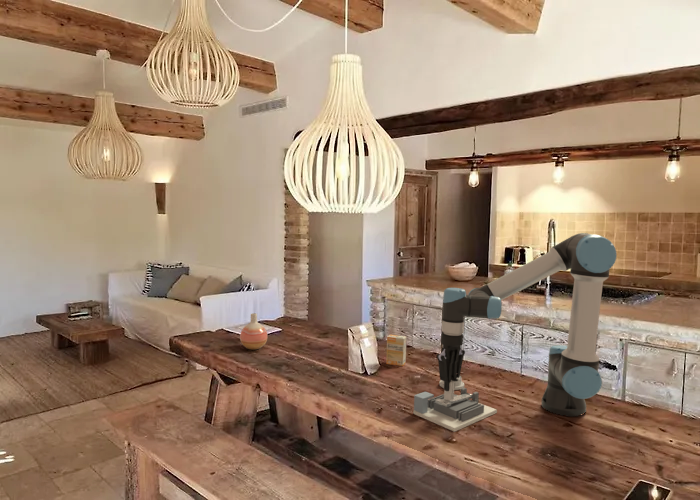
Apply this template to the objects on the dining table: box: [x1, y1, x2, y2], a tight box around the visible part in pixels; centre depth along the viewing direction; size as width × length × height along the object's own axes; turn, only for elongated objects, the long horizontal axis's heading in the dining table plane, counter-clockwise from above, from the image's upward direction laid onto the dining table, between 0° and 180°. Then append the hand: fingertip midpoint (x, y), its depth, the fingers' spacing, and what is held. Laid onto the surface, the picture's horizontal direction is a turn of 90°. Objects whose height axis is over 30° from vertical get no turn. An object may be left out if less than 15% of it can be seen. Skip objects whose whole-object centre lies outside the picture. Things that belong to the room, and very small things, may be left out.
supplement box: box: [385, 334, 407, 367], centre depth 233 cm, size 8×5×13 cm, turn 68°
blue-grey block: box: [413, 391, 435, 414], centre depth 179 cm, size 4×6×5 cm
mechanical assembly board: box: [413, 387, 498, 433], centre depth 179 cm, size 18×24×6 cm
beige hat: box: [438, 375, 465, 391], centre depth 207 cm, size 10×4×10 cm
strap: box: [435, 392, 473, 407], centre depth 179 cm, size 5×17×1 cm, turn 130°
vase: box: [239, 312, 268, 351], centre depth 255 cm, size 14×14×18 cm
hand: (448, 398), depth 177 cm, fingers closed
